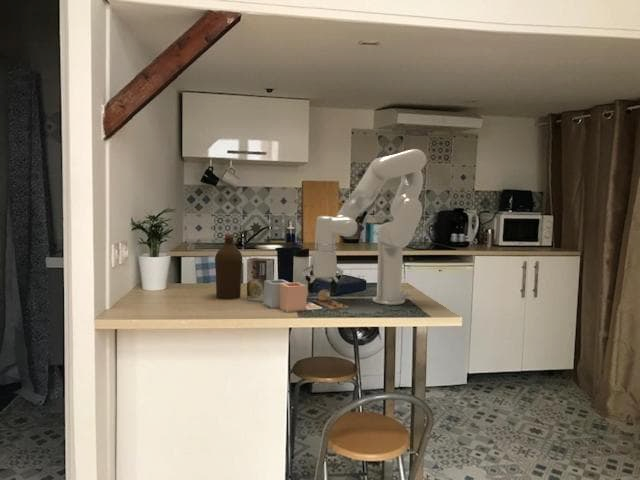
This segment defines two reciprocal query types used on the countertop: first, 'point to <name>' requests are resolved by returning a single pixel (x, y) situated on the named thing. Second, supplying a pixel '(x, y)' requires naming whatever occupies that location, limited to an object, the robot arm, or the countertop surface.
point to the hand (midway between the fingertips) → (321, 292)
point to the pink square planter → (292, 297)
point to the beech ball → (324, 295)
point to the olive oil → (228, 270)
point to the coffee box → (258, 277)
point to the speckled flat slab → (331, 304)
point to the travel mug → (300, 266)
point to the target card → (312, 306)
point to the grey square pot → (272, 292)
